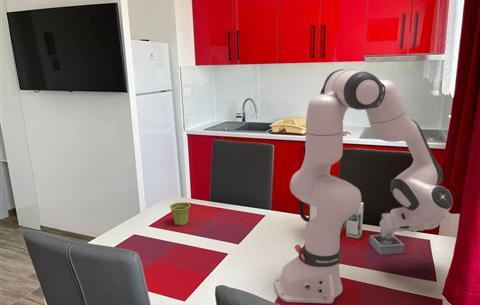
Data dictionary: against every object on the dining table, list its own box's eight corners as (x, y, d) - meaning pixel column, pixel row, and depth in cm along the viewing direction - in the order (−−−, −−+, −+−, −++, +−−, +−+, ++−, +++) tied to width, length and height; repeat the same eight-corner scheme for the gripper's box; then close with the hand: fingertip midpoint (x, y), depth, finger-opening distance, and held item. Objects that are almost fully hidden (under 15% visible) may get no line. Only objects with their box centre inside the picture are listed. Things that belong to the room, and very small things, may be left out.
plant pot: (168, 221, 182) (167, 204, 179) (187, 217, 185) (186, 200, 183) (174, 228, 173) (172, 211, 171) (193, 224, 177) (192, 207, 175)
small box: (346, 229, 169) (347, 212, 167) (336, 228, 170) (337, 211, 168) (346, 224, 174) (347, 208, 172) (337, 223, 175) (337, 207, 173)
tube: (382, 251, 149) (385, 218, 145) (376, 245, 154) (379, 213, 150) (395, 250, 149) (398, 217, 146) (389, 244, 154) (391, 212, 151)
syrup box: (345, 236, 162) (347, 204, 159) (348, 230, 167) (350, 200, 164) (359, 239, 160) (361, 206, 156) (362, 233, 165) (364, 202, 161)
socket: (380, 254, 146) (380, 246, 146) (369, 243, 156) (369, 235, 155) (403, 253, 147) (404, 244, 147) (391, 241, 157) (392, 233, 156)
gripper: (443, 206, 130) (424, 220, 142) (387, 209, 128) (372, 224, 140) (450, 223, 127) (430, 237, 139) (392, 227, 125) (377, 241, 137)
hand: (400, 230), depth 139 cm, fingers open, 8 cm apart
